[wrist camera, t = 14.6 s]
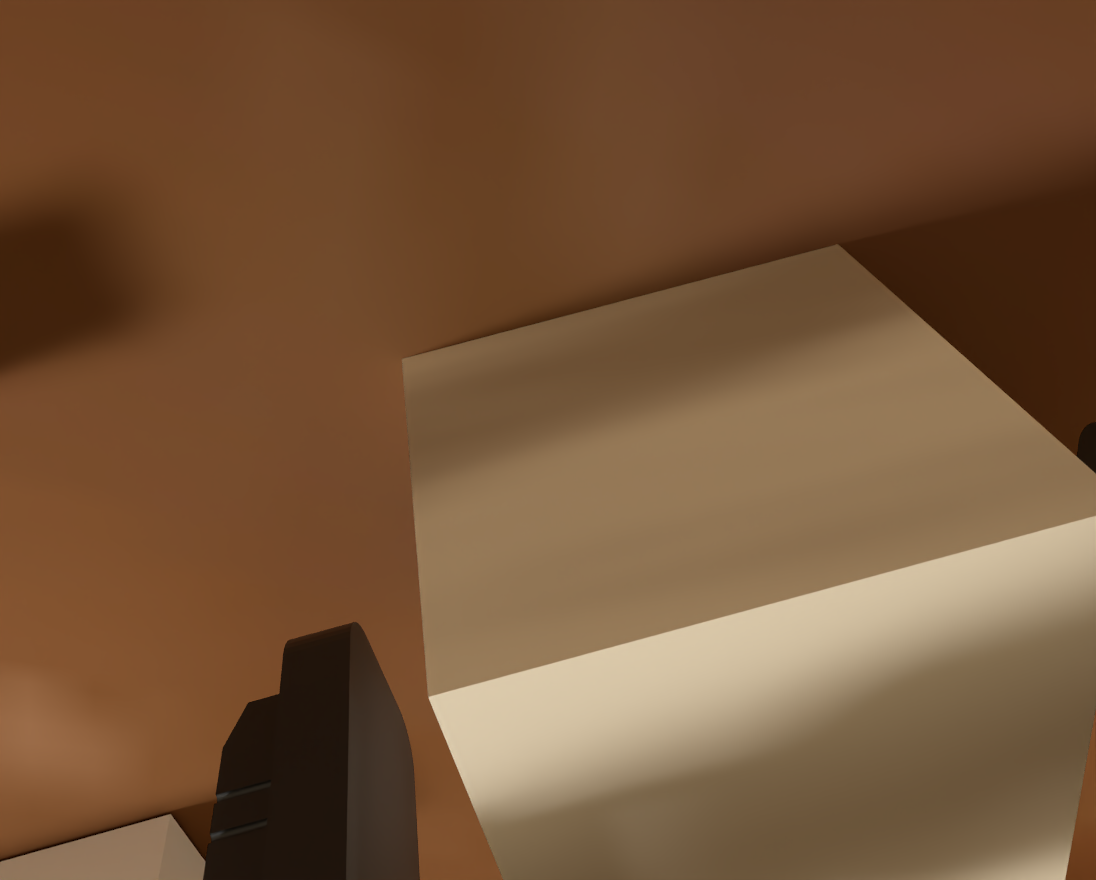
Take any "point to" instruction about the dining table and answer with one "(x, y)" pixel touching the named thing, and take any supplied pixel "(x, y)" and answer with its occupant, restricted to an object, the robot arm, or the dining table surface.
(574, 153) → the dining table surface
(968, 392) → the block
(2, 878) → the rail channel
